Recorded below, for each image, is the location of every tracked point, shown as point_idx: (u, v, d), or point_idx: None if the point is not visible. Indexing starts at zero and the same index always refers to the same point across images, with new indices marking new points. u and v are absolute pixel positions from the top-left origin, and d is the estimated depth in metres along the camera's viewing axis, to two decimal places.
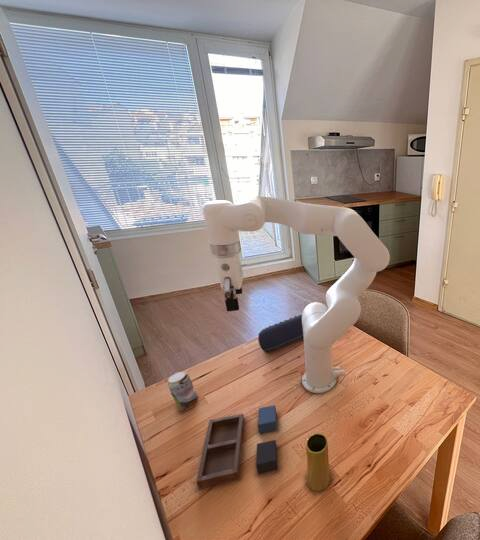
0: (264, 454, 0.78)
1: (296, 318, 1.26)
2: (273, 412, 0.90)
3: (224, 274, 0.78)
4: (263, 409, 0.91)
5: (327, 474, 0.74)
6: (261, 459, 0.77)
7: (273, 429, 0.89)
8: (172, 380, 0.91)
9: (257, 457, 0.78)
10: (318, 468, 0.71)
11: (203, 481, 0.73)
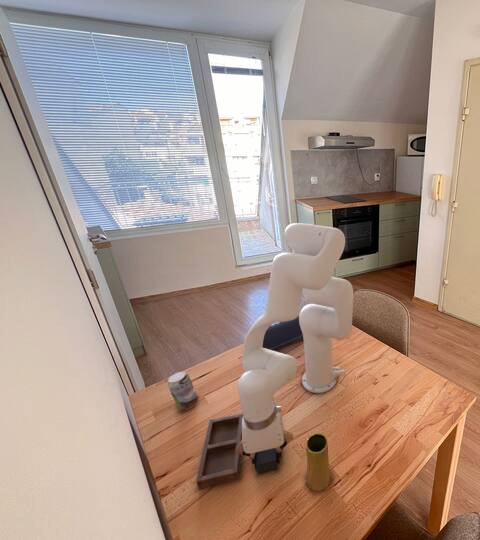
0: (264, 455, 0.78)
1: (296, 318, 1.26)
2: None
3: (282, 427, 0.76)
4: None
5: (327, 474, 0.74)
6: (261, 459, 0.77)
7: None
8: (172, 380, 0.91)
9: (257, 457, 0.78)
10: (318, 468, 0.71)
11: (203, 481, 0.73)
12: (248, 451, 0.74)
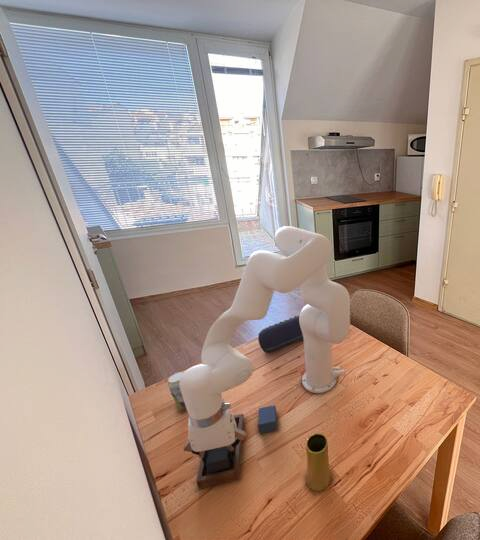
0: (216, 453, 0.76)
1: (296, 318, 1.26)
2: (273, 412, 0.90)
3: (232, 425, 0.74)
4: (263, 409, 0.91)
5: (327, 474, 0.74)
6: (211, 458, 0.75)
7: (273, 429, 0.89)
8: (172, 380, 0.91)
9: (208, 456, 0.75)
10: (318, 468, 0.71)
11: (203, 481, 0.73)
12: (196, 449, 0.72)
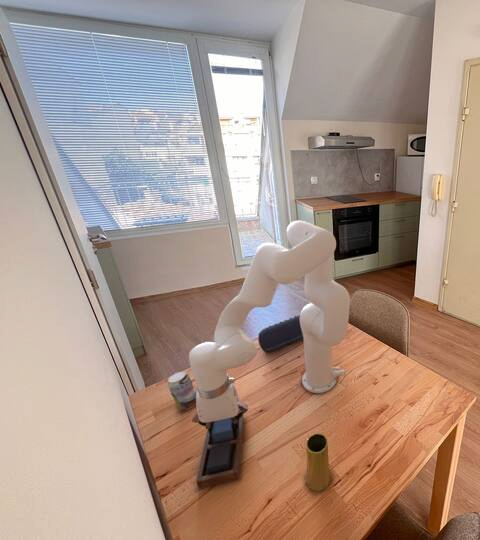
0: (217, 458, 0.77)
1: (296, 318, 1.26)
2: (230, 420, 0.85)
3: (236, 398, 0.81)
4: None
5: (327, 474, 0.74)
6: (212, 462, 0.76)
7: (229, 438, 0.83)
8: (172, 380, 0.91)
9: (209, 460, 0.76)
10: (318, 468, 0.71)
11: (203, 481, 0.73)
12: (203, 420, 0.80)
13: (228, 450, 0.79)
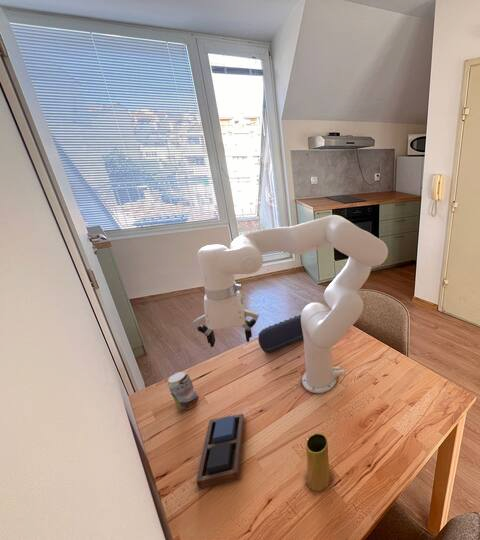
0: (217, 458, 0.77)
1: (296, 318, 1.26)
2: (231, 424, 0.86)
3: (243, 307, 0.82)
4: (220, 421, 0.86)
5: (327, 474, 0.74)
6: (212, 462, 0.76)
7: None
8: (172, 380, 0.91)
9: (209, 460, 0.76)
10: (318, 468, 0.71)
11: (203, 481, 0.73)
12: (211, 326, 0.80)
13: (228, 450, 0.79)
